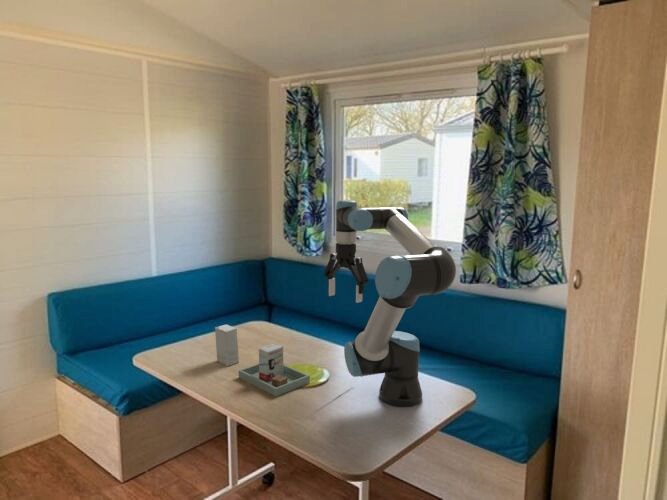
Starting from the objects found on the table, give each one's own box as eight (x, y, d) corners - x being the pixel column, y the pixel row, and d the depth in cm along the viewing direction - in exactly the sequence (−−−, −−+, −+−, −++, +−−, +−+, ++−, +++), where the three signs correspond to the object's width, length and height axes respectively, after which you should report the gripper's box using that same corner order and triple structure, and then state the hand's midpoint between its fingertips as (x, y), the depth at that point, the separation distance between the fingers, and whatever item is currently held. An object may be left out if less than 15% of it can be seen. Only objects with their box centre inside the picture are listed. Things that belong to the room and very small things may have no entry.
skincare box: (239, 363, 206) (238, 328, 203) (226, 366, 202) (225, 331, 199) (228, 357, 212) (227, 323, 209) (215, 360, 208) (214, 326, 205)
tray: (309, 385, 186) (309, 375, 185) (275, 399, 174) (275, 389, 174) (272, 368, 201) (271, 359, 200) (238, 380, 189) (238, 370, 189)
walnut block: (287, 387, 181) (287, 377, 180) (280, 391, 178) (280, 381, 177) (279, 385, 183) (278, 374, 183) (271, 389, 180) (271, 378, 179)
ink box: (267, 382, 185) (267, 352, 183) (258, 378, 188) (258, 348, 186) (283, 375, 192) (283, 345, 190) (275, 371, 195) (274, 342, 193)
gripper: (379, 245, 179) (377, 302, 182) (328, 238, 195) (327, 291, 199) (365, 247, 173) (364, 306, 177) (314, 240, 190) (314, 294, 193)
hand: (345, 298), depth 188 cm, fingers open, 13 cm apart
